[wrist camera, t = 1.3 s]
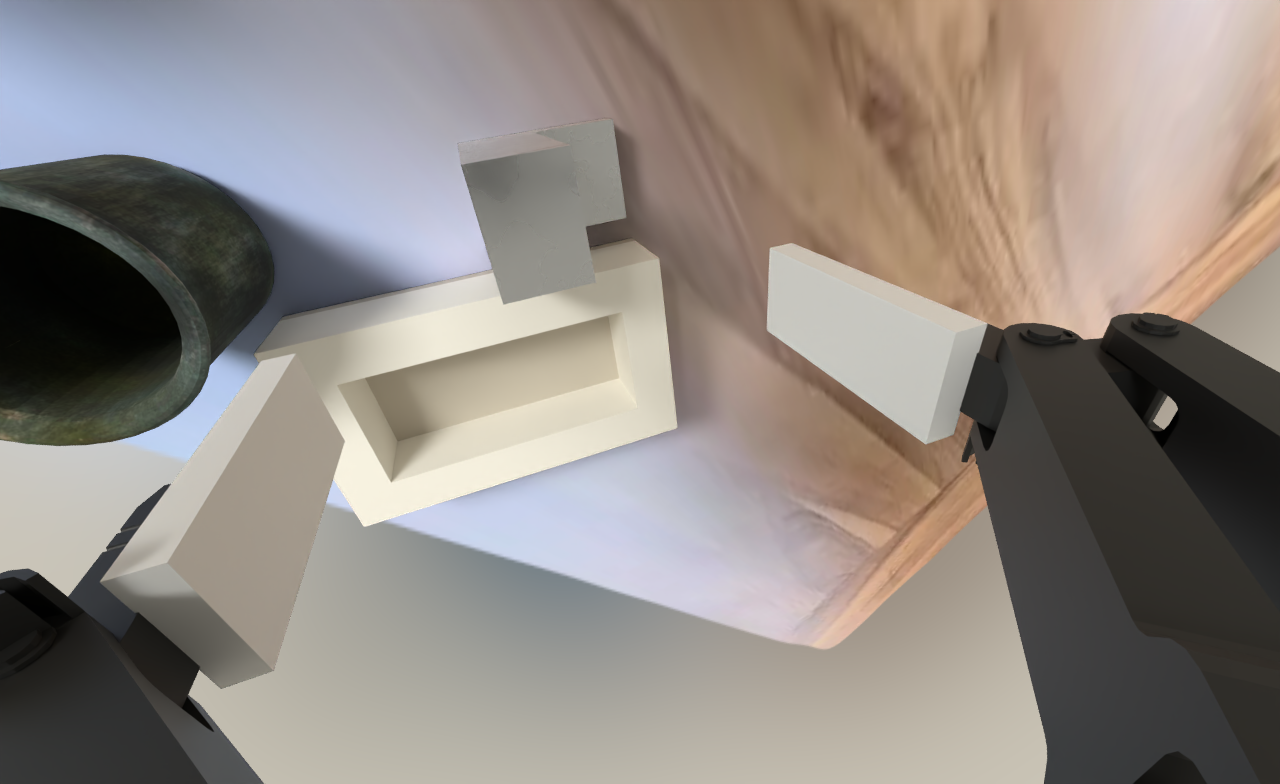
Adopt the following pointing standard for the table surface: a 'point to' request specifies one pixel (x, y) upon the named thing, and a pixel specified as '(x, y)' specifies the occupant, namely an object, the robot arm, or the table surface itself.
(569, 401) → the well block
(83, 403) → the mug
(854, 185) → the table surface
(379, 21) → the table surface
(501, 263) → the grey l-shaped block
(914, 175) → the table surface
